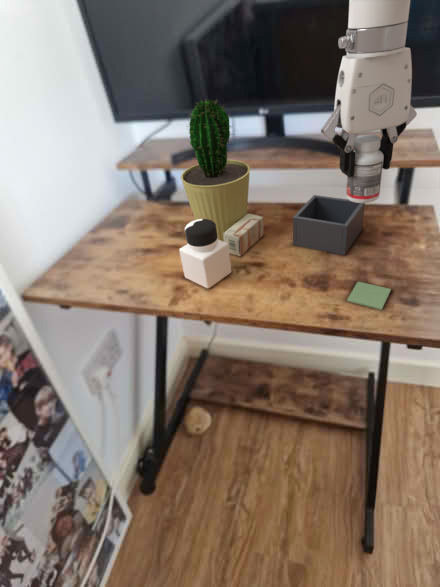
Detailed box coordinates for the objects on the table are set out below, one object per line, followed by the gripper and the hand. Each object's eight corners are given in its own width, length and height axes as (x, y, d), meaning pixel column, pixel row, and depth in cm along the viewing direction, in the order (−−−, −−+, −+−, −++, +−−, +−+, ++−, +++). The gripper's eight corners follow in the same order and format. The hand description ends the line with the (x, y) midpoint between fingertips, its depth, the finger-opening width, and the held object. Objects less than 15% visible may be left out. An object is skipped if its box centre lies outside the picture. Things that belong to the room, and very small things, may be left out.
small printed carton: (239, 237, 85) (263, 215, 91) (222, 233, 87) (246, 212, 93) (241, 257, 88) (264, 235, 94) (224, 253, 90) (248, 231, 96)
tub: (362, 229, 91) (365, 201, 87) (344, 255, 83) (347, 226, 79) (313, 221, 96) (313, 194, 92) (293, 245, 89) (292, 217, 85)
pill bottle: (347, 190, 71) (350, 133, 66) (380, 191, 70) (386, 132, 64) (344, 203, 67) (347, 144, 62) (378, 204, 66) (385, 143, 60)
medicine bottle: (232, 272, 83) (226, 220, 76) (208, 289, 80) (199, 236, 72) (208, 262, 88) (200, 211, 80) (184, 278, 84) (173, 226, 77)
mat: (390, 290, 73) (391, 288, 73) (381, 310, 69) (382, 308, 69) (357, 282, 76) (357, 281, 75) (347, 301, 72) (347, 299, 72)
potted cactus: (218, 255, 89) (197, 111, 71) (179, 233, 100) (152, 103, 81) (267, 228, 96) (260, 91, 78) (226, 210, 106) (212, 85, 88)
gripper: (328, 53, 51) (324, 189, 62) (451, 31, 53) (427, 167, 63) (305, 49, 57) (306, 173, 68) (417, 29, 59) (400, 153, 69)
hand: (364, 169), depth 66 cm, fingers closed on pill bottle, 5 cm apart
